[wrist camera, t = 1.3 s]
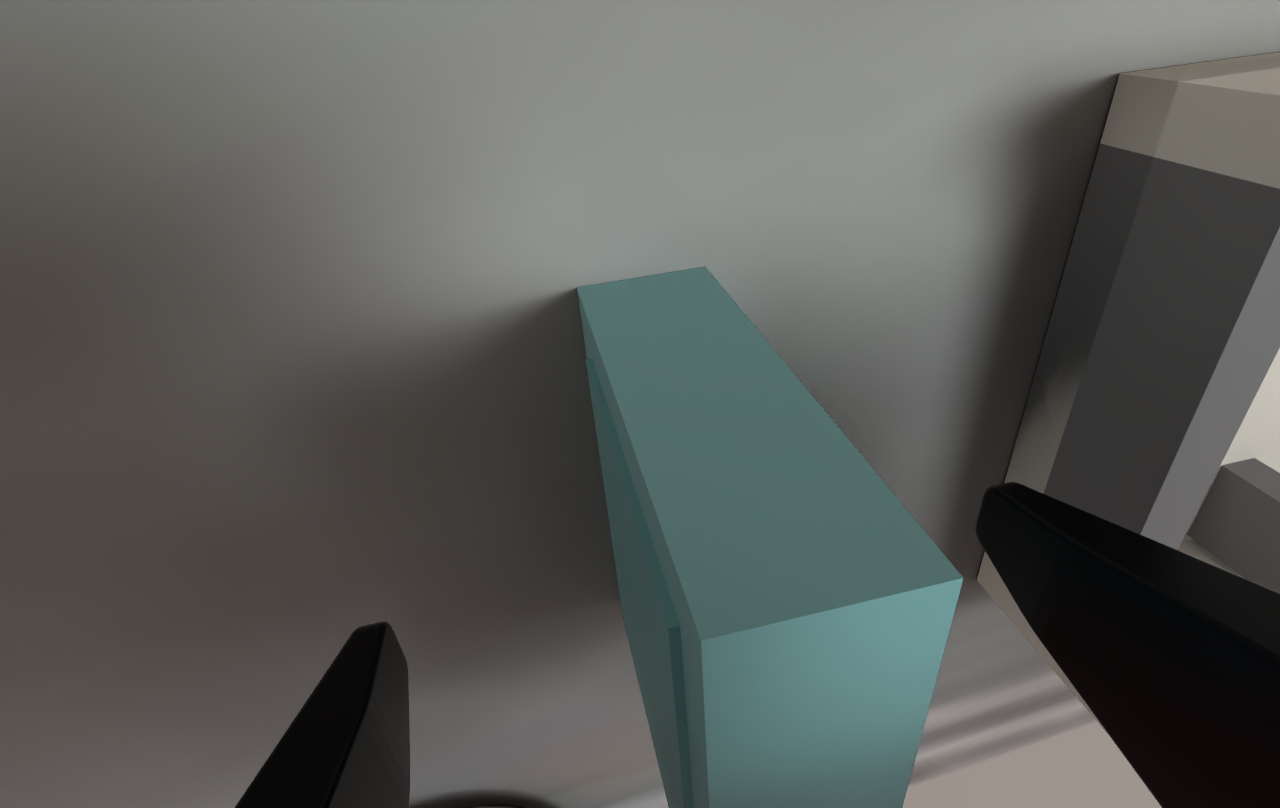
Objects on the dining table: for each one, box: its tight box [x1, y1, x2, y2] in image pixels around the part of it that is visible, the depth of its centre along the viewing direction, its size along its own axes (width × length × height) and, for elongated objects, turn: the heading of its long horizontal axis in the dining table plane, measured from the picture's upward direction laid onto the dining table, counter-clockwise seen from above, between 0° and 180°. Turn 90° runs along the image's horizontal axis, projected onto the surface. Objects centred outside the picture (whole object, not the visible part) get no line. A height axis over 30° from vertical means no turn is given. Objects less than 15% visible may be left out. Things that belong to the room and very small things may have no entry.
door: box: [577, 267, 963, 808], centre depth 9 cm, size 2×7×6 cm, turn 5°
